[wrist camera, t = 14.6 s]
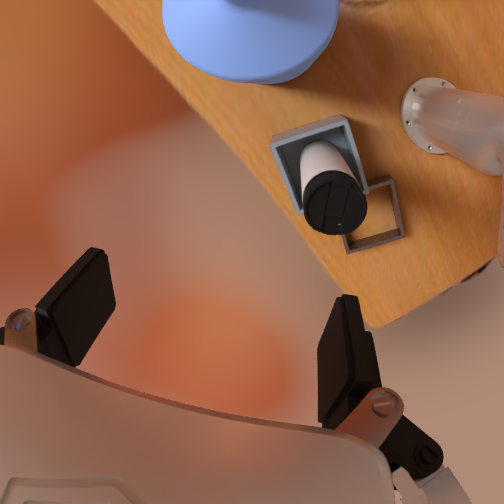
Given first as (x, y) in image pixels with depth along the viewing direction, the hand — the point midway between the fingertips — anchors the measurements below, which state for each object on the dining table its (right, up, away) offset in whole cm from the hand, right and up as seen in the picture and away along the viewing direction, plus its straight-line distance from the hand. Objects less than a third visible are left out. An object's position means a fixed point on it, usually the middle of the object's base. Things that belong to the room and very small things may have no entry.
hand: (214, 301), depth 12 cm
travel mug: (+12, +16, +33) cm, 38 cm away
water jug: (+4, +33, +25) cm, 42 cm away
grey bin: (+12, +17, +33) cm, 39 cm away
